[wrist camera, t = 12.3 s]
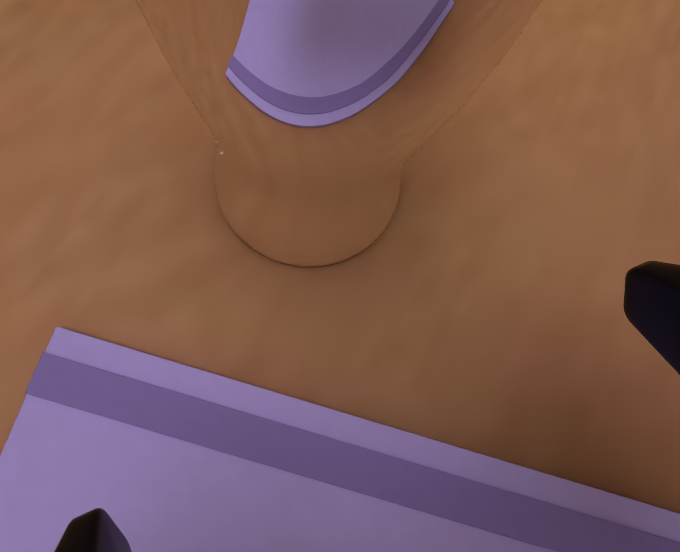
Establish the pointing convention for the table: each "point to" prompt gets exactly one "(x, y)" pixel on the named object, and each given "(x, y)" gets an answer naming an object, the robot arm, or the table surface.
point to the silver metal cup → (325, 104)
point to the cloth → (272, 472)
